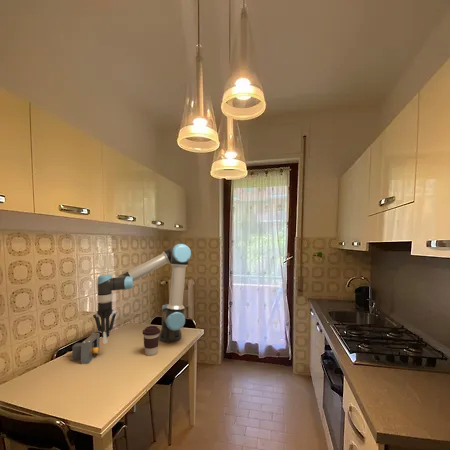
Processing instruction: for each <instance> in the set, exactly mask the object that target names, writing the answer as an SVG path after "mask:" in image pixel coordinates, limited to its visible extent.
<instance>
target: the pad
mask: <svg viewBox="0 0 450 450" xmlns="http://www.w3.org/2000/svg"><path fill="white" fill-rule="evenodd" d="M71 352H72V351H67V352H66V353H65V354H64V355H63V356H68V357H72V353H71Z"/></svg>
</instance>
